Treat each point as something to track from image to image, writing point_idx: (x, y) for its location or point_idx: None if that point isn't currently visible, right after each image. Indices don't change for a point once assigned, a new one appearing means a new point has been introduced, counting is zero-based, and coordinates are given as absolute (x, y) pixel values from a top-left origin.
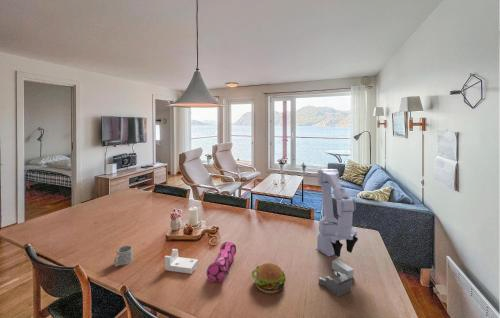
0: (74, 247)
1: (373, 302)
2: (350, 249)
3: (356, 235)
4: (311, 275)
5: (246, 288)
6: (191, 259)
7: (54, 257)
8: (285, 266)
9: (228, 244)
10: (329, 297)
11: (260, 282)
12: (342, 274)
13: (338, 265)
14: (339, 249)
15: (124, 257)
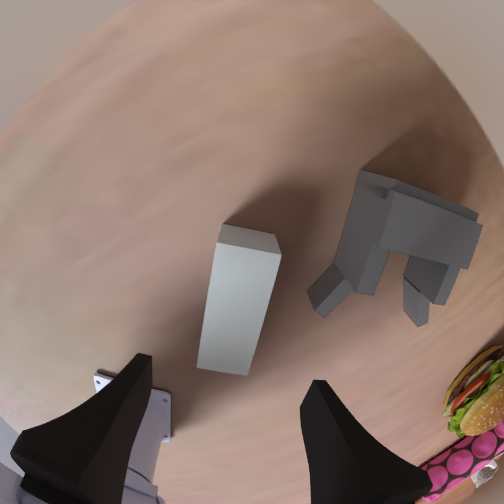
0: (468, 488)
1: (350, 48)
2: (141, 382)
3: (2, 470)
4: (376, 358)
5: None
6: None
7: None
8: (379, 424)
9: (442, 494)
10: None
11: None
12: (373, 257)
13: (259, 331)
14: (373, 443)
15: (489, 470)
